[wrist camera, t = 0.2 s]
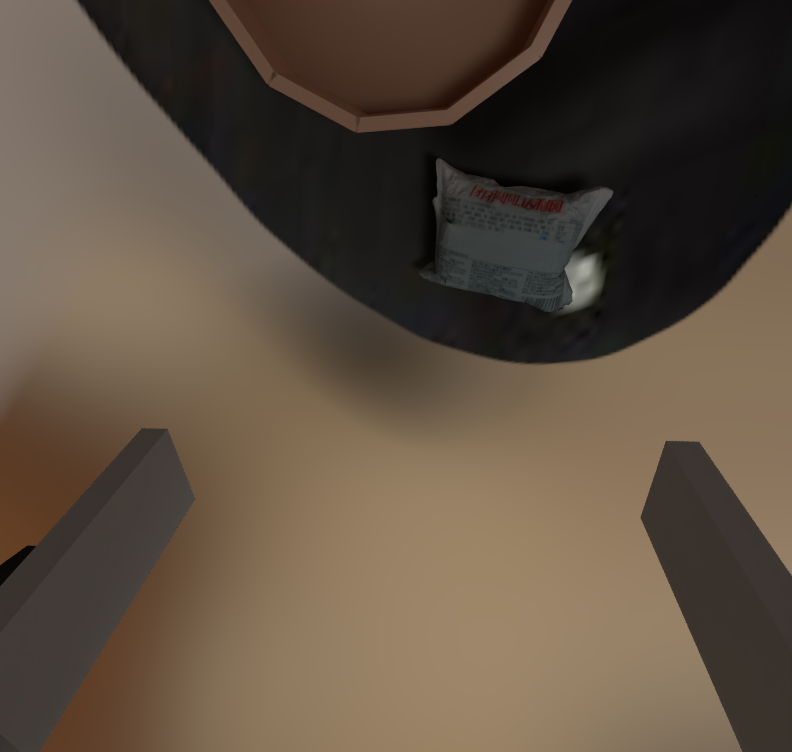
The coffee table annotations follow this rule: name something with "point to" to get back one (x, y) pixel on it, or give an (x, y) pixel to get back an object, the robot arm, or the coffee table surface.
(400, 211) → the coffee table surface
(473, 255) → the packaged food
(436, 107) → the bowl
